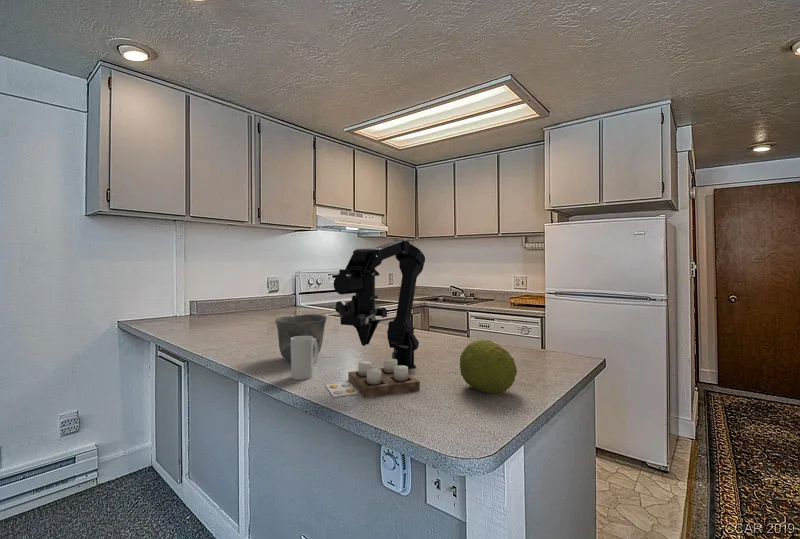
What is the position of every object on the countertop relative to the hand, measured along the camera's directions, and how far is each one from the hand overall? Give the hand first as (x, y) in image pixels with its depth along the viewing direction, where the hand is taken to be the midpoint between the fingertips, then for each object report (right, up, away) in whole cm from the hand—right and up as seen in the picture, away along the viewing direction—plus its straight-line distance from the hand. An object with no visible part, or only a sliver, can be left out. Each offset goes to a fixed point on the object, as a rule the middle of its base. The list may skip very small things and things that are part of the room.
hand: (365, 345), depth 115 cm
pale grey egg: (+7, -8, +3) cm, 12 cm away
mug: (-19, -11, +7) cm, 23 cm away
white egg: (0, -9, 0) cm, 9 cm away
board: (+5, -11, -2) cm, 12 cm away
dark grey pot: (-25, -10, +25) cm, 37 cm away
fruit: (+34, -12, -6) cm, 37 cm away
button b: (+10, -9, -4) cm, 14 cm away
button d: (+3, -9, -7) cm, 12 cm away
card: (-6, -11, -6) cm, 14 cm away
